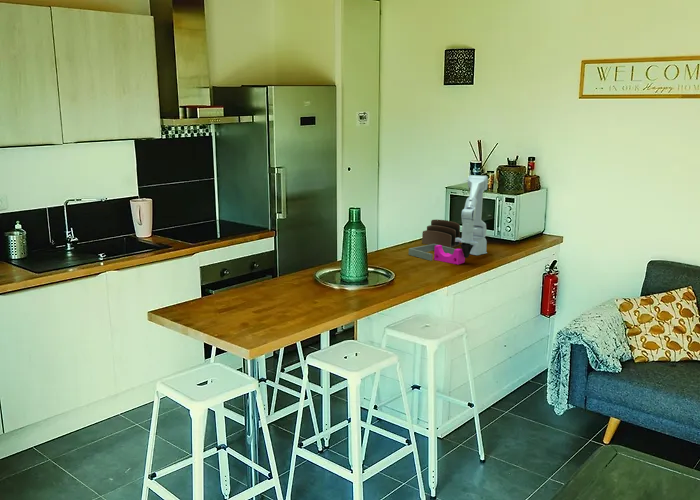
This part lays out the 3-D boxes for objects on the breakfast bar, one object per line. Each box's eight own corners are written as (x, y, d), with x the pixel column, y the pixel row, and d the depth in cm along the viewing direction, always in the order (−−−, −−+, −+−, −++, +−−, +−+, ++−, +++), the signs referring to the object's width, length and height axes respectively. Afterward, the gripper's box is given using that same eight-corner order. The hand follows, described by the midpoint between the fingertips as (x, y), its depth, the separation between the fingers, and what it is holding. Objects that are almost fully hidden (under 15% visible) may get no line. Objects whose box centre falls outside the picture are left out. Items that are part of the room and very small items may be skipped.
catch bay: (434, 249, 384) (434, 243, 383) (456, 255, 371) (457, 249, 371) (408, 254, 372) (408, 248, 371) (431, 260, 359) (431, 254, 358)
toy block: (464, 262, 356) (465, 248, 355) (458, 264, 352) (458, 250, 350) (440, 257, 366) (441, 244, 364) (434, 259, 361) (434, 245, 360)
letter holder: (431, 241, 407) (431, 217, 404) (459, 246, 395) (461, 222, 392) (421, 243, 400) (422, 220, 397) (450, 248, 387) (451, 224, 384)
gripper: (451, 230, 353) (450, 255, 356) (473, 235, 342) (472, 261, 345) (460, 228, 357) (459, 253, 360) (482, 233, 346) (481, 259, 349)
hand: (466, 257), depth 353 cm, fingers closed
